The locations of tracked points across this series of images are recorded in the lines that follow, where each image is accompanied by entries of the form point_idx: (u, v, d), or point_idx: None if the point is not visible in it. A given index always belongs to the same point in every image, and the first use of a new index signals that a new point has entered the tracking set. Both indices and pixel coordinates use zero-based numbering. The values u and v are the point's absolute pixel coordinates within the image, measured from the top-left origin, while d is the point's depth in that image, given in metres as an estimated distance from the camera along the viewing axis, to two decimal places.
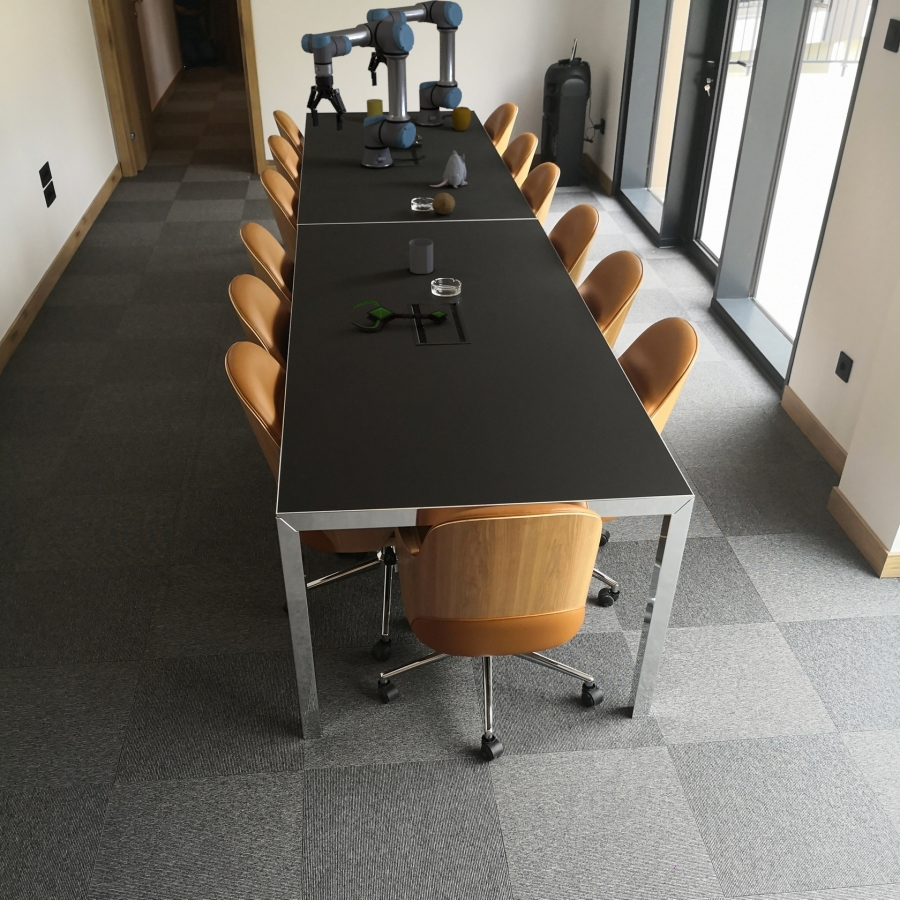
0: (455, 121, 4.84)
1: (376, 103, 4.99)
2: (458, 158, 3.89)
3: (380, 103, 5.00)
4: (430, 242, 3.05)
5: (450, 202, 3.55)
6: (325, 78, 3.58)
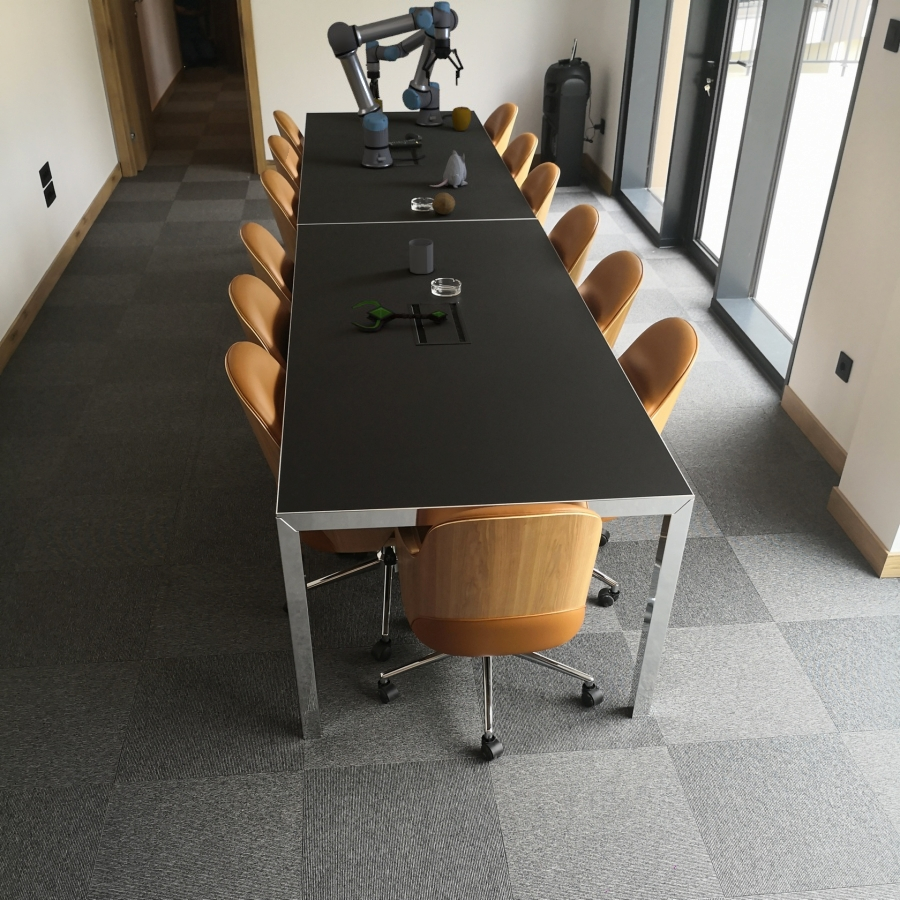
0: (455, 121, 4.84)
1: None
2: (458, 158, 3.89)
3: (380, 103, 5.00)
4: (430, 242, 3.05)
5: (450, 202, 3.55)
6: None
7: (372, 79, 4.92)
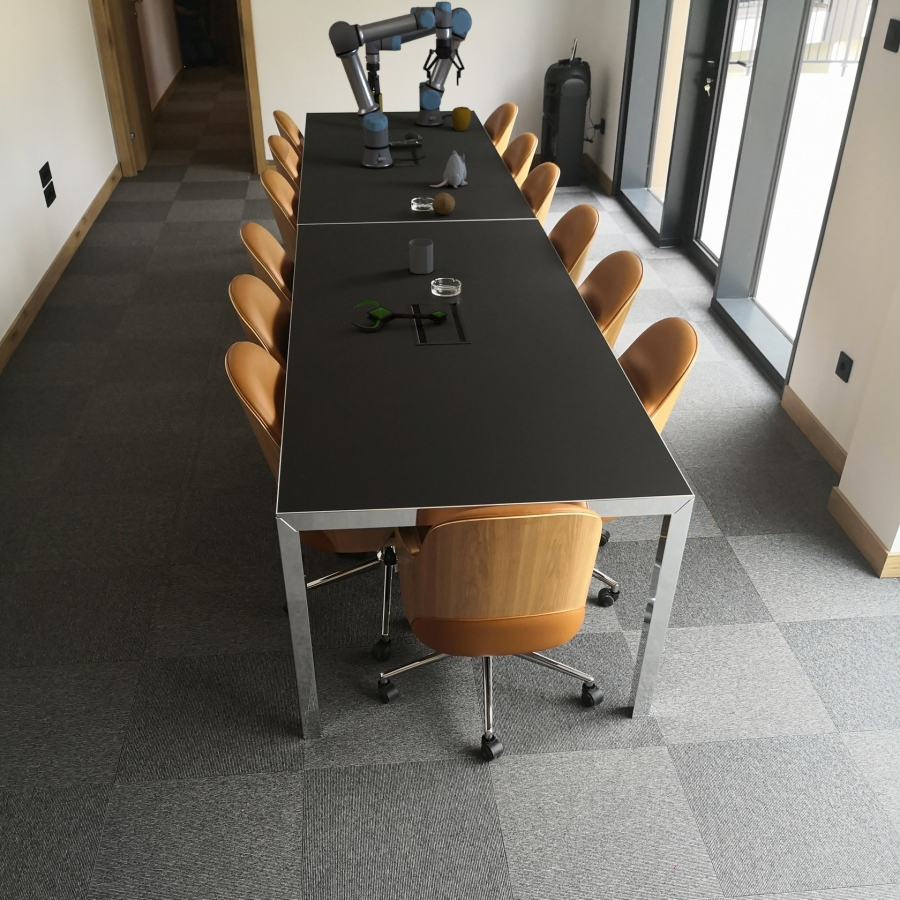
0: (455, 121, 4.84)
1: (379, 96, 4.80)
2: (458, 158, 3.89)
3: (381, 96, 4.82)
4: (430, 242, 3.05)
5: (450, 202, 3.55)
6: None
7: (375, 71, 4.73)
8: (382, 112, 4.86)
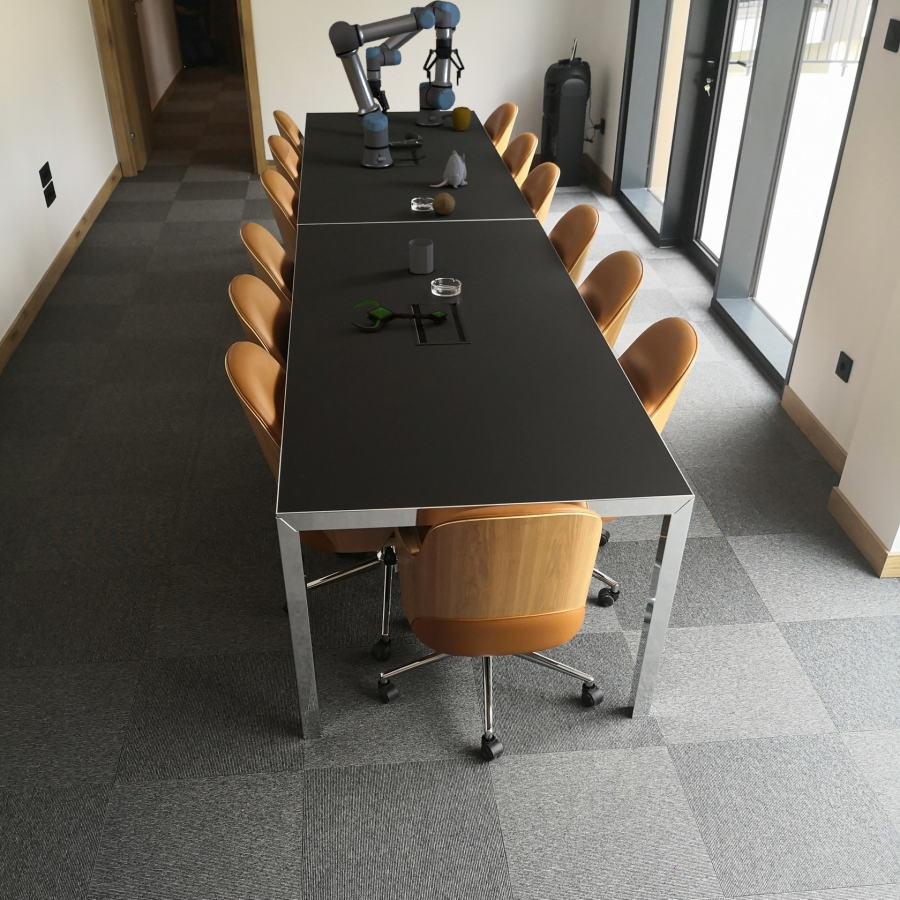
0: (455, 121, 4.84)
1: None
2: (458, 158, 3.89)
3: None
4: (430, 242, 3.05)
5: (450, 202, 3.55)
6: None
7: (379, 88, 4.62)
8: None
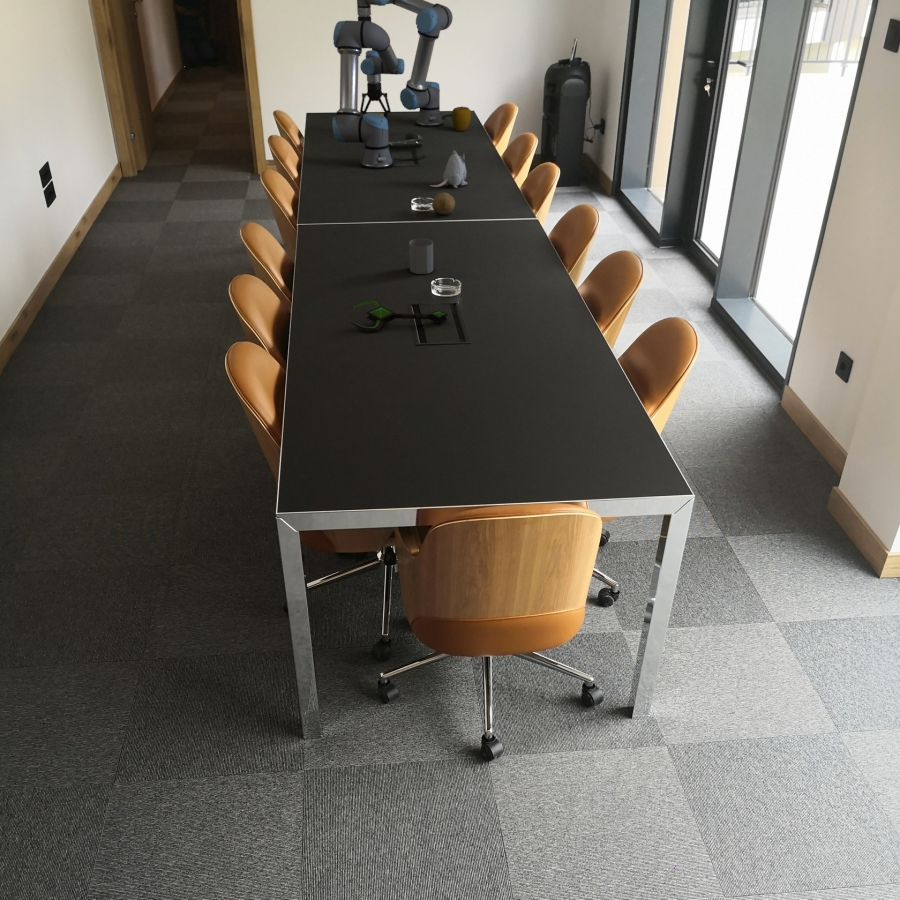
0: (455, 121, 4.84)
1: (383, 115, 4.70)
2: (458, 158, 3.89)
3: None
4: (430, 242, 3.05)
5: (450, 202, 3.55)
6: None
7: None
8: None
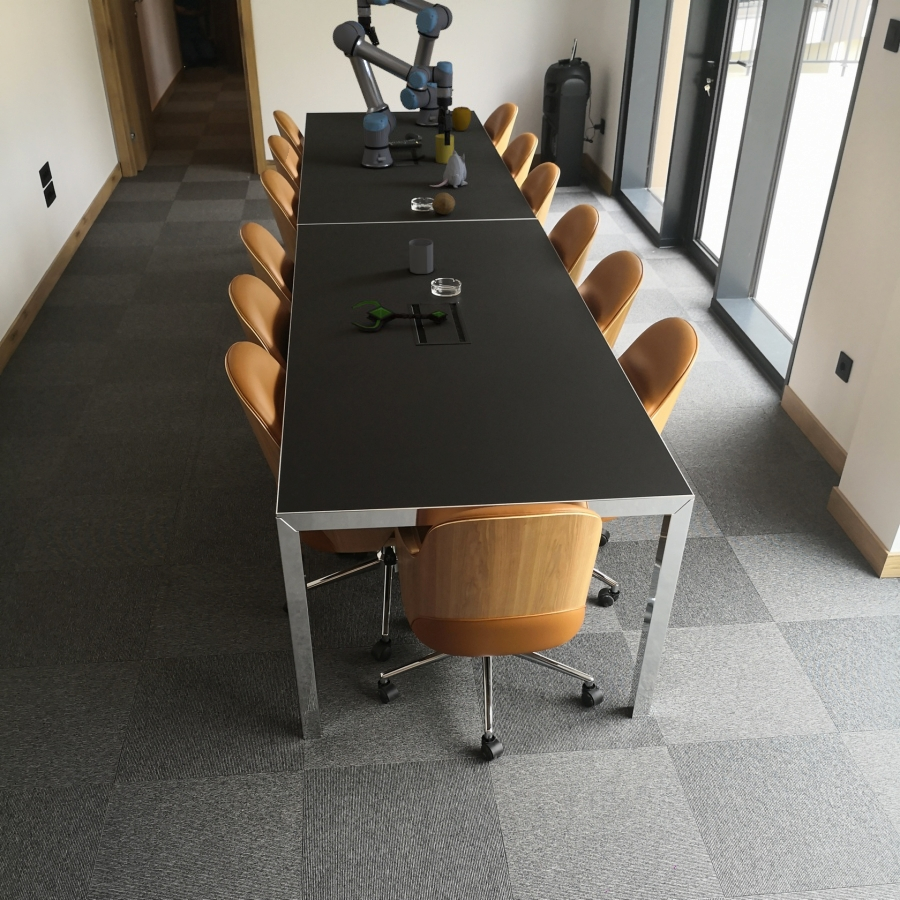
0: (455, 121, 4.84)
1: (443, 139, 4.25)
2: (458, 158, 3.89)
3: None
4: (430, 242, 3.05)
5: (450, 202, 3.55)
6: None
7: (369, 24, 4.84)
8: (448, 158, 4.30)
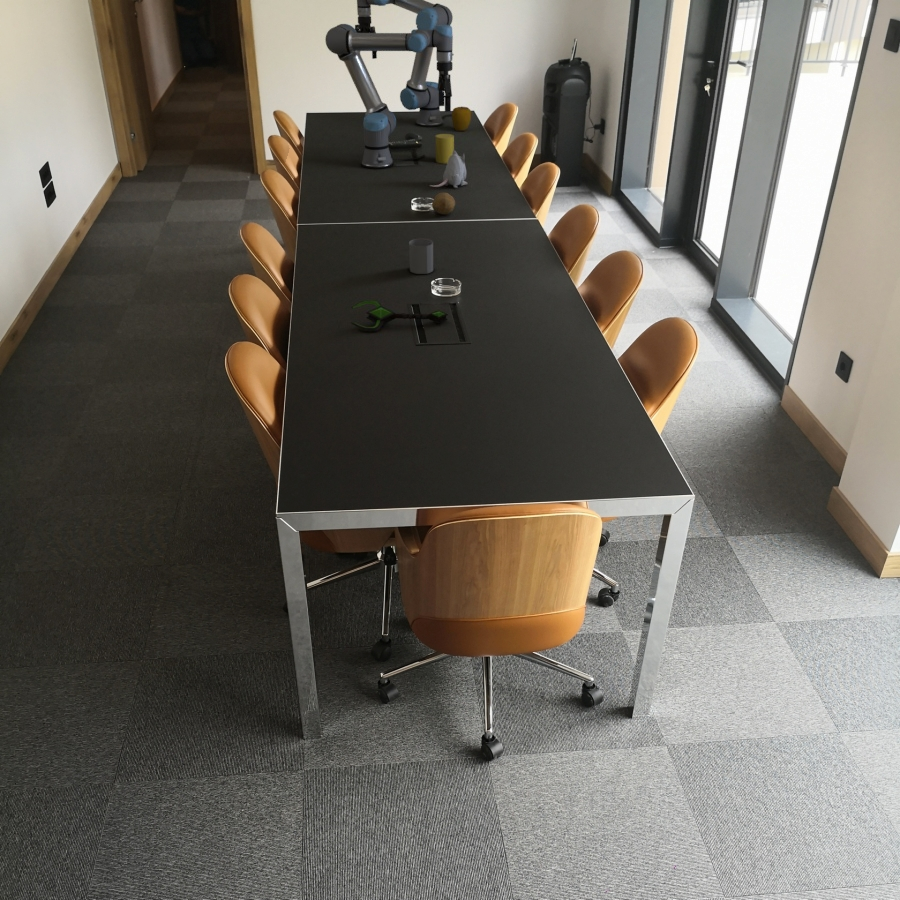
0: (455, 121, 4.84)
1: (443, 139, 4.25)
2: (458, 158, 3.89)
3: (448, 140, 4.25)
4: (430, 242, 3.05)
5: (450, 202, 3.55)
6: None
7: (369, 24, 4.84)
8: (448, 158, 4.30)
